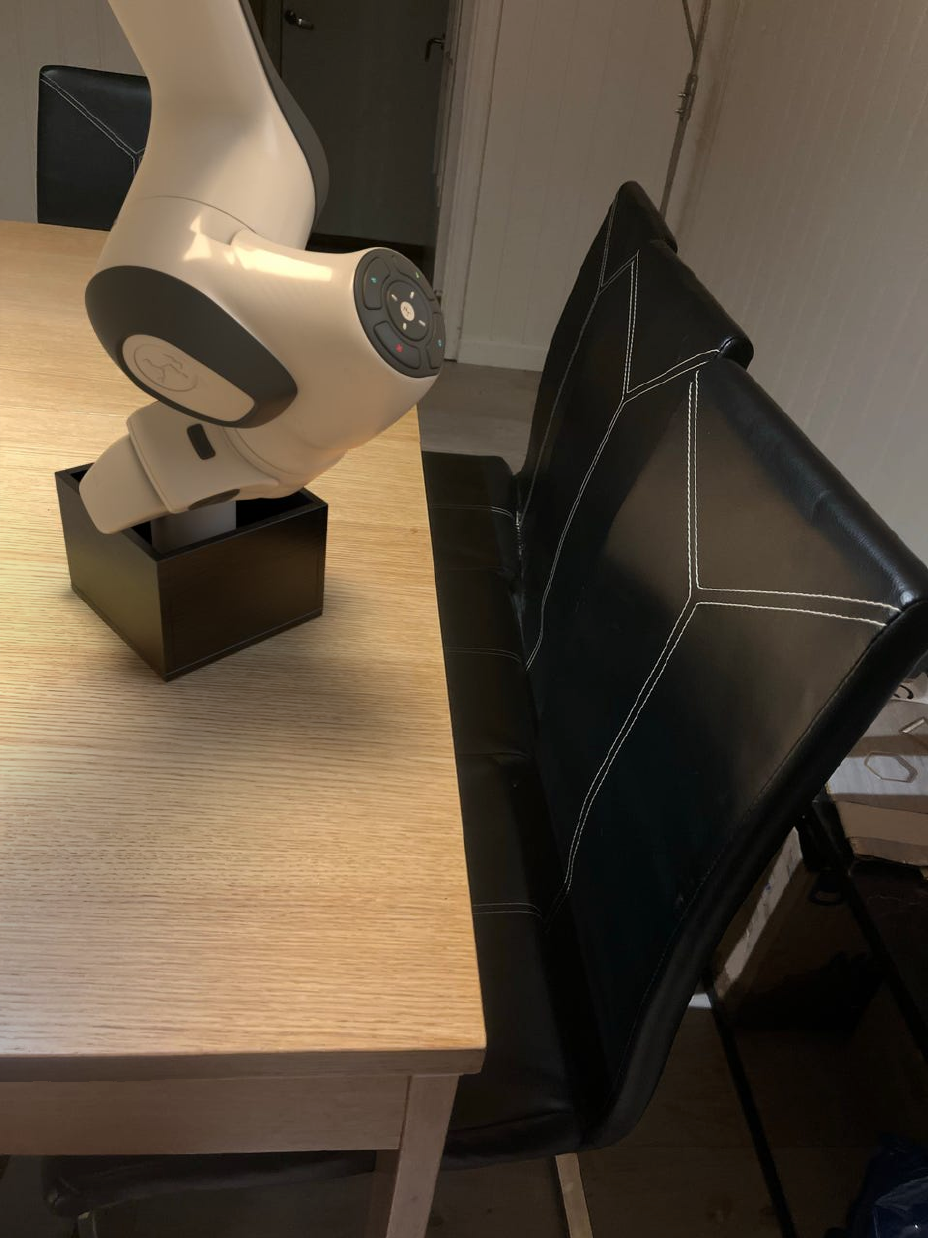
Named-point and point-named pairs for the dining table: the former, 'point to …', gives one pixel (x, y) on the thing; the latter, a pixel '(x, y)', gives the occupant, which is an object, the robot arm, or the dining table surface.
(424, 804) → the dining table surface
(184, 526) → the beverage can
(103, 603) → the dark storage bin
